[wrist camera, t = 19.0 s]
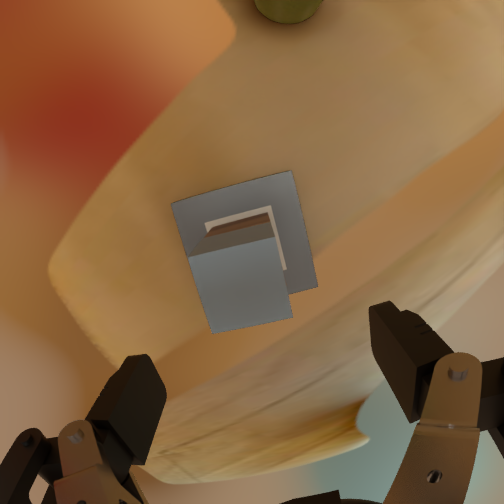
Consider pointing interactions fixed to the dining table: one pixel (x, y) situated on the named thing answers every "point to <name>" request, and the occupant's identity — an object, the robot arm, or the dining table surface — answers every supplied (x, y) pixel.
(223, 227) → the walnut block
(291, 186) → the plate
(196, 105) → the dining table surface
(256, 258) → the blue block
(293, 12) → the plant pot
